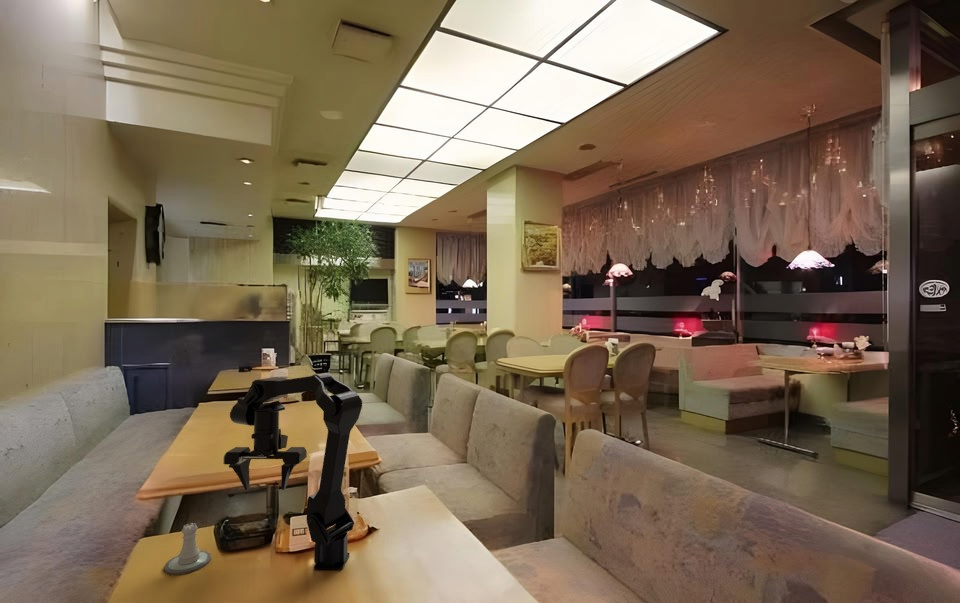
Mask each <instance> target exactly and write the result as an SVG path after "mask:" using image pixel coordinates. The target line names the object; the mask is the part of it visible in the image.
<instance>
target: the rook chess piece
mask: <svg viewBox="0 0 960 603" xmlns="http://www.w3.org/2000/svg"><path fill="white" fill-rule="evenodd" d="M182 526H183V528H182V530H181V531H180V532H181V534H183V536H182V537H181V538H182V539H183V541H182V547H181V550H180V552H179V554H178V555H177V556H178V558H179V559H178V563H179V564H181V565H188V564H192V563H194V562H196V561H197V560H198V559H199V558H200V554H199V553H200V551H201V550H200V549H199V546H198V545H197V540H196V537H197V535H198V534H197V533H196V532H197V530H198V528H199V526H197V523H195V522H194V523H193V522H189V523H186V524H184V525H182Z"/></svg>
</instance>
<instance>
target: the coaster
mask: <svg viewBox="0 0 960 603" xmlns="http://www.w3.org/2000/svg"><path fill="white" fill-rule="evenodd" d="M199 554H200V558H199V559H198V560H197V561H196V562H194V563H192V564H188V565H181V564H179V563H178V559H179V558H178V555H176V556H173V557H172V558H171V559H169V560H168V561H167V562H166V563H165V564H164V572H165V573H166V574H168V575H172V576H173V575H174V576H175V575H185V574H189V573H192V572H195V571H198V570H200V569H202V568H203V567H205V566H207V565H209V563H210V561H211V558H212V555H211V553H210V552H209V551H207V550H200V553H199Z"/></svg>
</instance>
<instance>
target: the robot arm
mask: <svg viewBox="0 0 960 603" xmlns="http://www.w3.org/2000/svg"><path fill="white" fill-rule="evenodd" d="M326 391H327V392H329V393H330V394H331V395H329V394H328V393H327V392H326ZM307 392H308V393H309V392H312V393H313V395H314V398H315V403H316V405H317V406H318V407H319V408H320V409H321V411H323V414H322V415H323V417H322V418H323V419H322V420H323V423H324V424H325V427H326V428H327V434H326V436H327V437H326V442H325V448H324V454H323V462H322V468H321V474H320V475H321V476H320V482H319V489H318V491H317V492H316V493H315V492H314V494H312V495H309V496H308V498H307V499H306V500H307V501H306V502H307V503H306V504H307V505H306V510H305V511H304V514H305V515H306V523H307V528H308V531H309V532H308V533H309V536H310V540H311V542H312V543H314V547H313V550H314V555H313V560H314V563H315V565H314V566H313V570H315V571H318V570H319V571H322V570H323V571H325V570H326V571H327V570H328V571H329V570H330V571H331V570H335V571H336V570H343V569H344V567H345V565H346V563H347V562H348V559H349V557H350V552H348V538H349V536H348V533H349V532H350V531H353V528H354V525H355V521H354V519H353V517H352V516H351V514H350V513H349V512H348V510H347V508H346V498H345V495H344V493H343V491H342V486H343V479H344V472H345V467H346V460H347V453H348V448H349V447H348V446H349V442H350V441H349V440H350V437H351V436H350V435H351V431H352V430H353V428H354V426H355V425H356V423H357V422H358V420H359V418H360V414H361V411H362V409H363V400H362V398H361V397H360V395H359V394H358V393H357V392H356V391H354V390H353V389H352V388H351V387H350V386H349V385H347V384H345V383H343V382H341V381H340V380H338V379H336V377H334V376H333V375H332V374H331V373H329V372H322V373H316V374H312V375H309V376H302V377H301V376H300V377H293V378H286V377H282V376H272V377H267V378H259V379H255V380H253V381H251V386H250V387H249V389H248V390H247V393H246V394H245V395H244V397H237V399H236V400H237V403H235V404H234V405H233V406H232V408H231V410H230V412H229V418H230V420H231V422H232V423H234V424H239V425H245V426H251V427H252V426H253V433H252V434H251V435H250V436H251V439H252V440H253V450H251V448H250V447H249V446H236V447H234V448H232V449H229V450H228V451H226V453H225V454H224V456H223V465H228V468H229V469H232V470H233V471H234V473H235V474H236V476H237V478H238V479H239V481H240V482H241V484H242V486H243V488H244V490H245V491H249V490H250V465H251V460H282V463H283V464H282V465H281V470H280V471H281V473H280V474H281V477H280V478H281V481H280V482H281V484H280V485H281V490H282V491H285V490H286V488H287V485H288V483H289V480H290V478H291V474H292V471H293V469H294V467H296V466H297V465H299V464H301V463H302V462H303V461H304V460H305V459H306V458H307V457H308V456H307V454H308V453H307V449H306V447H305V446H290V447H289V448H288V449H287V450H285V451H283V450H282V449H286V448H287V446H288V440H289V439H288V437H289V436H288V435H286V434H282V430H281V428H280V422H279V421H280V412H281V411H285V410H286V407H285V406H284V405H283V404H282V403H281V401H280V400H279V399H282V398H284V397H287V396H289V395H292V394H293V395H294V394H299V393H307ZM280 450H281V451H280Z"/></svg>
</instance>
